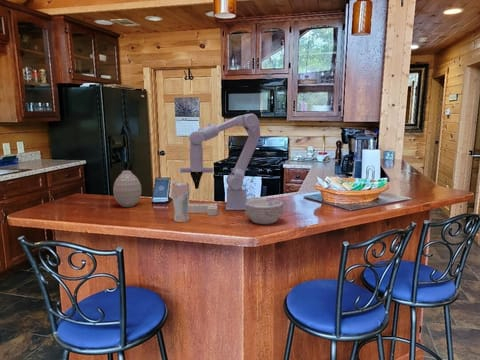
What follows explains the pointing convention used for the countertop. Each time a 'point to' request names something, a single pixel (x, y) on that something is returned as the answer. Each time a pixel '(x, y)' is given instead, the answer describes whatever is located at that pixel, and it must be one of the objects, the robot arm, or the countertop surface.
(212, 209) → the stub
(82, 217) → the countertop surface
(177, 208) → the beer glass
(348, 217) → the countertop surface
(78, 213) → the countertop surface
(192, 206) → the white striped box
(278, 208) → the paper bowls
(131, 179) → the vase
